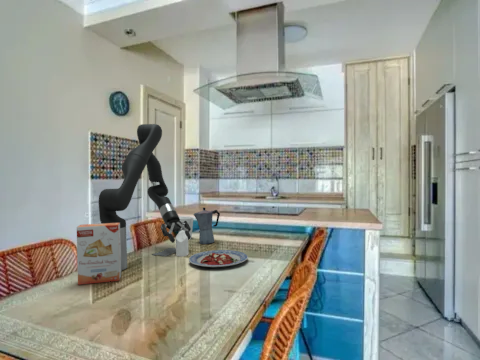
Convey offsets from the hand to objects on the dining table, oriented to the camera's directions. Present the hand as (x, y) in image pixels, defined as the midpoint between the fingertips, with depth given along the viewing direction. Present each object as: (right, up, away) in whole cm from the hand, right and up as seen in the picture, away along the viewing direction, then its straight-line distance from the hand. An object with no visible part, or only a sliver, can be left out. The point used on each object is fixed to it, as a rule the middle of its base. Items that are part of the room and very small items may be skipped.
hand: (181, 240), depth 146 cm
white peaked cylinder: (0, -7, 0) cm, 7 cm away
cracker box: (-23, -8, -35) cm, 42 cm away
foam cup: (-4, -7, +37) cm, 38 cm away
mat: (-8, -7, +6) cm, 12 cm away
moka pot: (+10, -7, +26) cm, 29 cm away
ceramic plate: (+19, -7, -13) cm, 24 cm away
